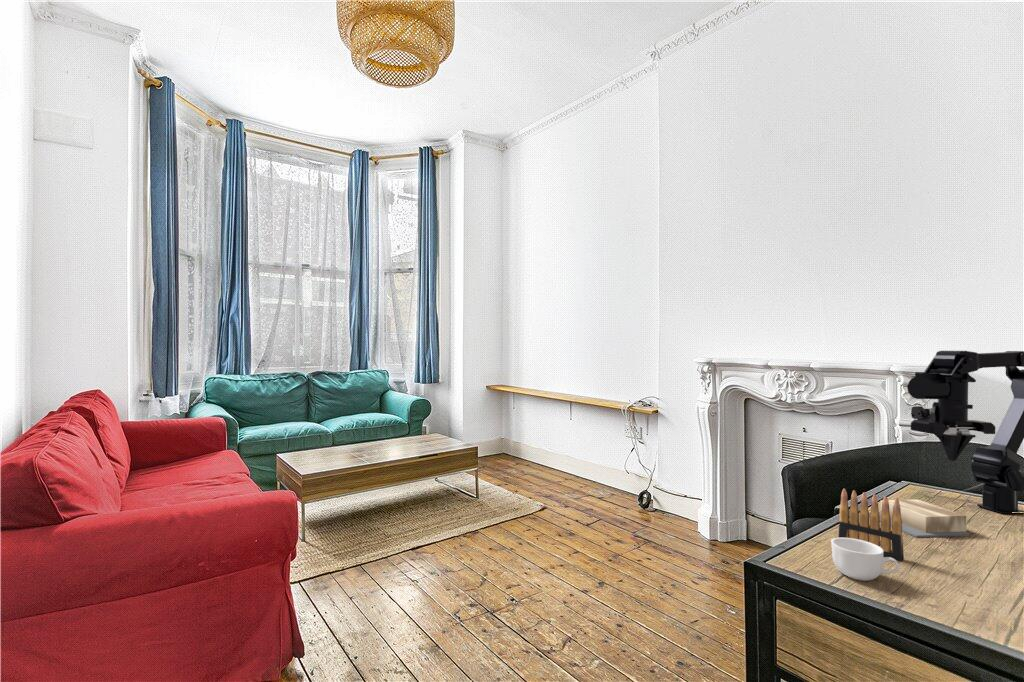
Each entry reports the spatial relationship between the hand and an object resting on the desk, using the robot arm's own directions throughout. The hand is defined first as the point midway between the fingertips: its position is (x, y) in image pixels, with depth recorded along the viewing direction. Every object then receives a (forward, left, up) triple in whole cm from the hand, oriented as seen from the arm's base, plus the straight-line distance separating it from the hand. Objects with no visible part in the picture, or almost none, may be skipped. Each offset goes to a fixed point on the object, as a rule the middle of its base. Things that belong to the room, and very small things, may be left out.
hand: (951, 460), depth 126 cm
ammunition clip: (+42, +22, -13) cm, 49 cm away
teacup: (+52, +32, -13) cm, 62 cm away
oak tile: (+11, +8, -11) cm, 17 cm away
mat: (+19, +8, -13) cm, 24 cm away
